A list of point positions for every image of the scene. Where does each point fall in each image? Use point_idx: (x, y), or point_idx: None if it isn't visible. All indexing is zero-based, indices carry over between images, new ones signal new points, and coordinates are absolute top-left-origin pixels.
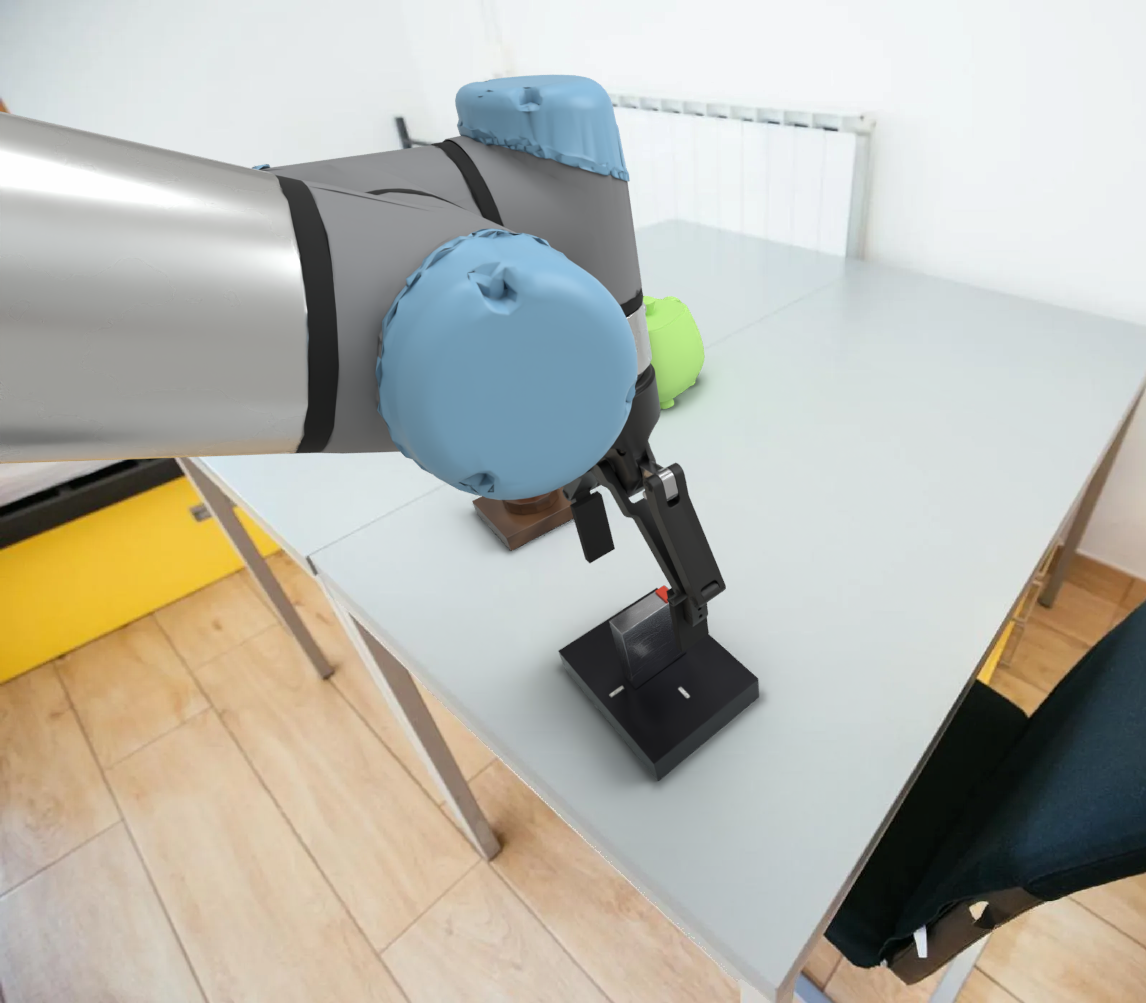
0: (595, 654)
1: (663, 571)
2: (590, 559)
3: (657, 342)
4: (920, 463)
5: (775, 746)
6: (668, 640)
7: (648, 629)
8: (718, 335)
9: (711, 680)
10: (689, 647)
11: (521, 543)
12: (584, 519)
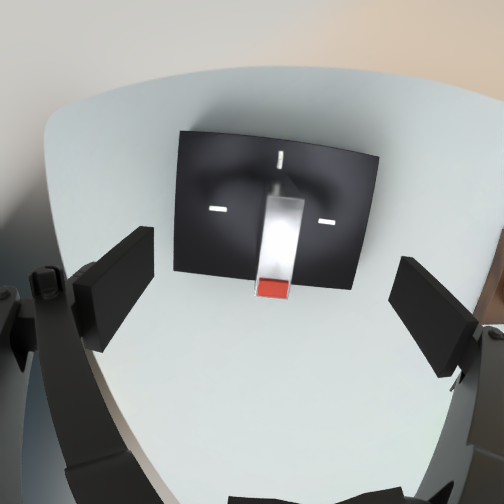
0: (341, 179)
1: (69, 322)
2: (403, 261)
3: None
4: (251, 475)
5: None
6: (258, 242)
7: (261, 231)
8: None
9: (207, 239)
10: None
11: (500, 240)
12: (442, 314)
